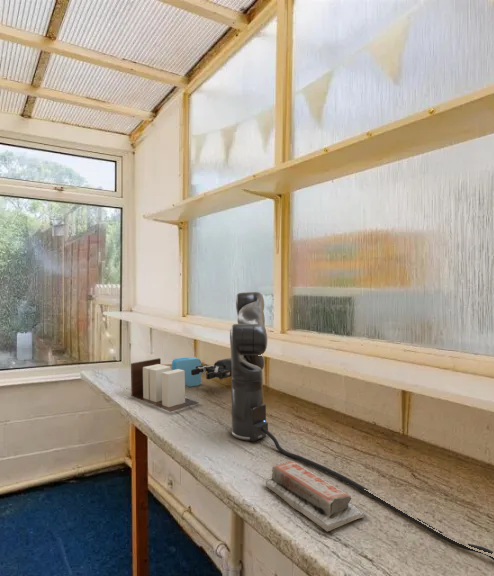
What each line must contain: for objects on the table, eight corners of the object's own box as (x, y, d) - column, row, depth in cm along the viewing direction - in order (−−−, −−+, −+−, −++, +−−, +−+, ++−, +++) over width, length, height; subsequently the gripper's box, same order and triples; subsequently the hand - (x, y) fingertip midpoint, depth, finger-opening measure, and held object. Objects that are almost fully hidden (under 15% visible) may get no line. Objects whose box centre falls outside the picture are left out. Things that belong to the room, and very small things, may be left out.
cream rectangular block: (171, 397, 149) (170, 366, 149) (156, 402, 143) (155, 370, 143) (165, 395, 152) (164, 365, 151) (149, 400, 146) (149, 368, 146)
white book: (165, 395, 152) (164, 365, 151) (148, 399, 146) (148, 368, 146) (159, 393, 154) (158, 363, 154) (143, 397, 149) (142, 367, 149)
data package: (196, 382, 173) (196, 356, 173) (201, 385, 169) (200, 358, 169) (172, 386, 168) (171, 358, 168) (176, 388, 164) (175, 360, 164)
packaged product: (263, 465, 86) (297, 456, 90) (263, 486, 86) (297, 476, 90) (327, 507, 70) (364, 493, 74) (327, 534, 70) (364, 518, 74)
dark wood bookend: (199, 405, 142) (199, 367, 142) (170, 414, 133) (170, 374, 133) (158, 391, 161) (158, 357, 161) (130, 398, 152) (130, 363, 152)
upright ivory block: (185, 402, 143) (184, 370, 142) (168, 407, 137) (167, 374, 137) (178, 400, 145) (178, 368, 145) (162, 405, 140) (161, 372, 140)
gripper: (214, 356, 165) (186, 362, 155) (240, 361, 154) (212, 367, 144) (215, 373, 165) (187, 380, 155) (240, 380, 155) (212, 387, 144)
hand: (199, 374), depth 150 cm, fingers open, 8 cm apart
